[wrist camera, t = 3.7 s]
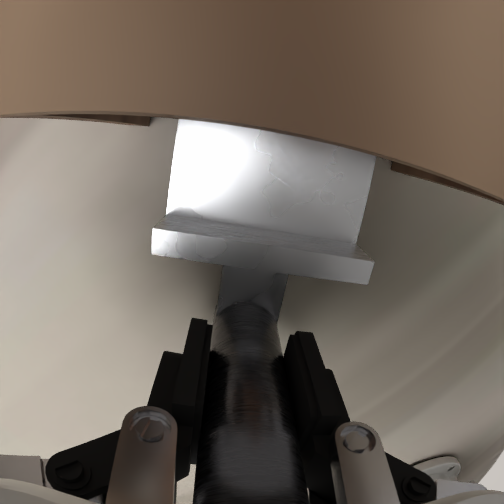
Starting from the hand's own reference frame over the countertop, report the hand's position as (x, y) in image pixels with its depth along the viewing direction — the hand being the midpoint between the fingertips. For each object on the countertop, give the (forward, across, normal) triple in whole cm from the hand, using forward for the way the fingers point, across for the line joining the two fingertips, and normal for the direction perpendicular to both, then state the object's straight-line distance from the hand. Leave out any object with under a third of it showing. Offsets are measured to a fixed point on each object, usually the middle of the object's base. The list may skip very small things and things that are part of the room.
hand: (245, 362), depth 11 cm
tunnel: (+3, 0, -12) cm, 12 cm away
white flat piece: (+3, 0, -8) cm, 8 cm away
